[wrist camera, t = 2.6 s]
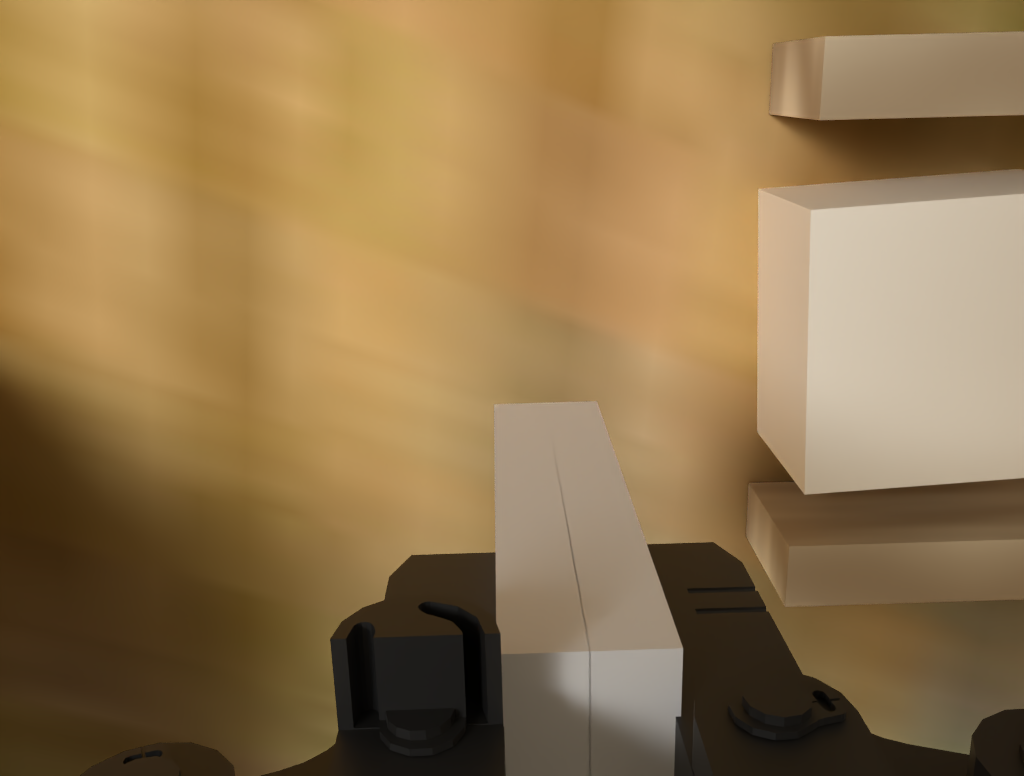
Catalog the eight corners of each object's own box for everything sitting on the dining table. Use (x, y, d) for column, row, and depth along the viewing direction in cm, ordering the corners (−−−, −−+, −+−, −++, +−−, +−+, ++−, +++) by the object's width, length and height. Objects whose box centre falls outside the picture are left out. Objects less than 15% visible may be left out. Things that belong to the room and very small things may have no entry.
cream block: (756, 188, 22) (810, 210, 18) (1014, 168, 22) (1121, 186, 18) (755, 429, 24) (804, 494, 20) (993, 411, 24) (1087, 472, 20)
